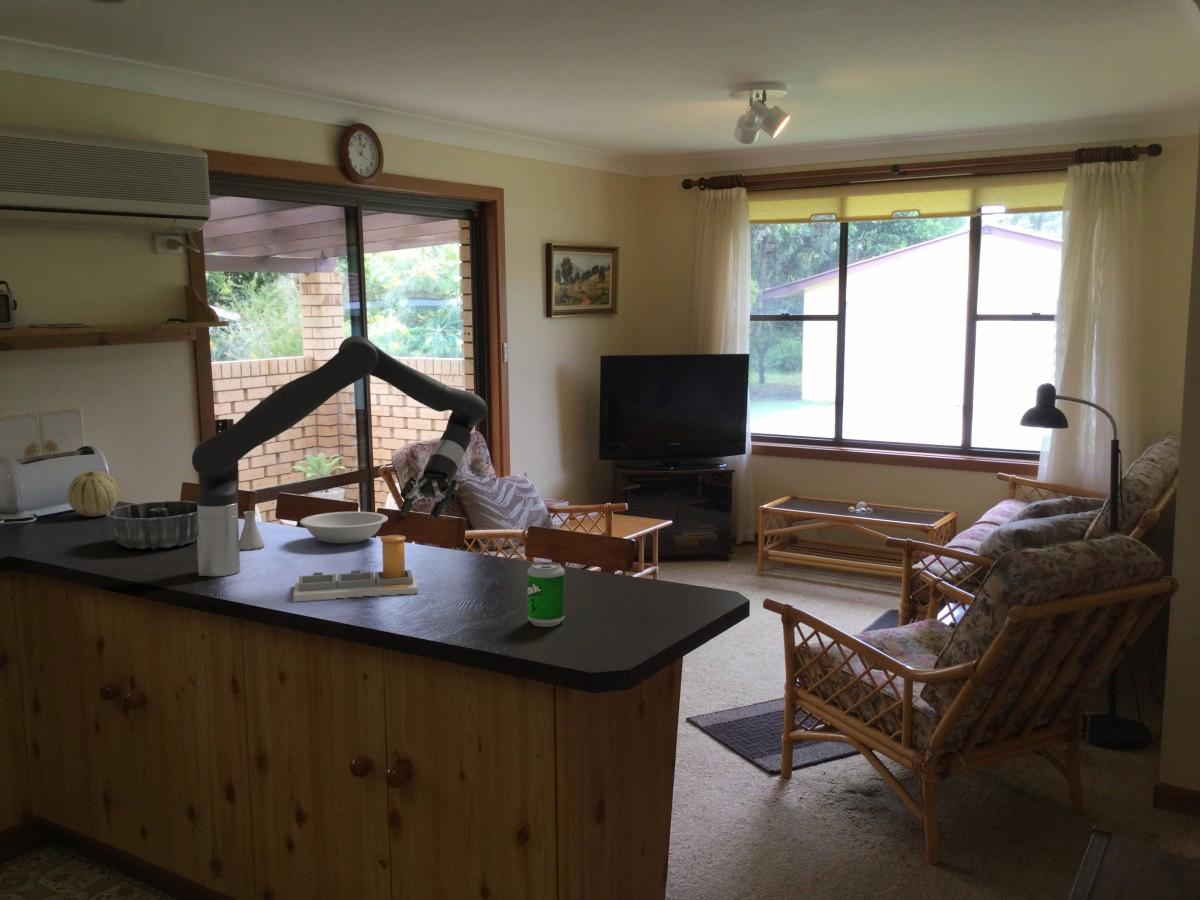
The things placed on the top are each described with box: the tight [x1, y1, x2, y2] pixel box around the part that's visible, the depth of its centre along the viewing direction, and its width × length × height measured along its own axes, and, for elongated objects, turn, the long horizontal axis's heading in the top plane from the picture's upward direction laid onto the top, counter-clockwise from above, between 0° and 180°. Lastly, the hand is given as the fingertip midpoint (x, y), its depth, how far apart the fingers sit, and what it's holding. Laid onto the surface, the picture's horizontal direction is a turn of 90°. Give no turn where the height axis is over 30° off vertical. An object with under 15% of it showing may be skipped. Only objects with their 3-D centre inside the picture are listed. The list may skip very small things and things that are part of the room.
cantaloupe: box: [67, 470, 120, 518], centre depth 315 cm, size 15×15×15 cm
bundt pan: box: [105, 500, 198, 551], centre depth 275 cm, size 26×26×10 cm
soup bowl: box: [299, 511, 389, 544], centre depth 279 cm, size 24×24×7 cm
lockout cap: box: [380, 534, 406, 579], centre depth 228 cm, size 6×6×10 cm
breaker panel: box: [293, 569, 419, 602], centre depth 227 cm, size 27×14×3 cm, turn 105°
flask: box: [239, 510, 265, 551], centre depth 270 cm, size 7×7×10 cm
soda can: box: [527, 561, 566, 628], centre depth 201 cm, size 8×8×12 cm
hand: (418, 515), depth 236 cm, fingers open, 8 cm apart
